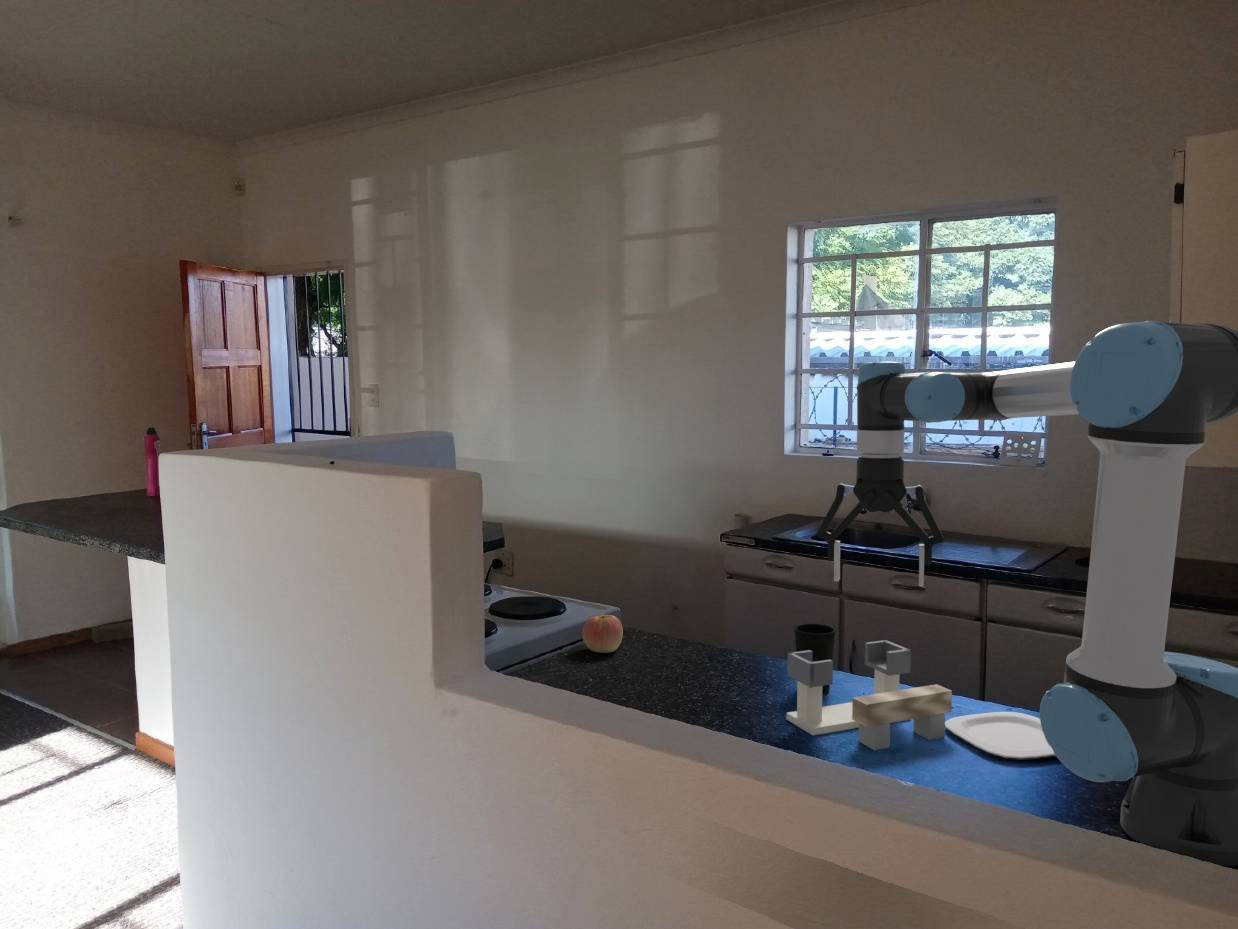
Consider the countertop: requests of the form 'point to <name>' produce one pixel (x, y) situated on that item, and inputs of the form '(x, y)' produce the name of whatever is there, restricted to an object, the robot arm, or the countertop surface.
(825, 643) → the cup
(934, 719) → the rests
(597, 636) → the apple
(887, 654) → the bracket stand
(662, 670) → the countertop surface
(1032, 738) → the plate
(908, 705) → the rail
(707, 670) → the countertop surface
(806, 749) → the countertop surface
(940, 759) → the countertop surface
